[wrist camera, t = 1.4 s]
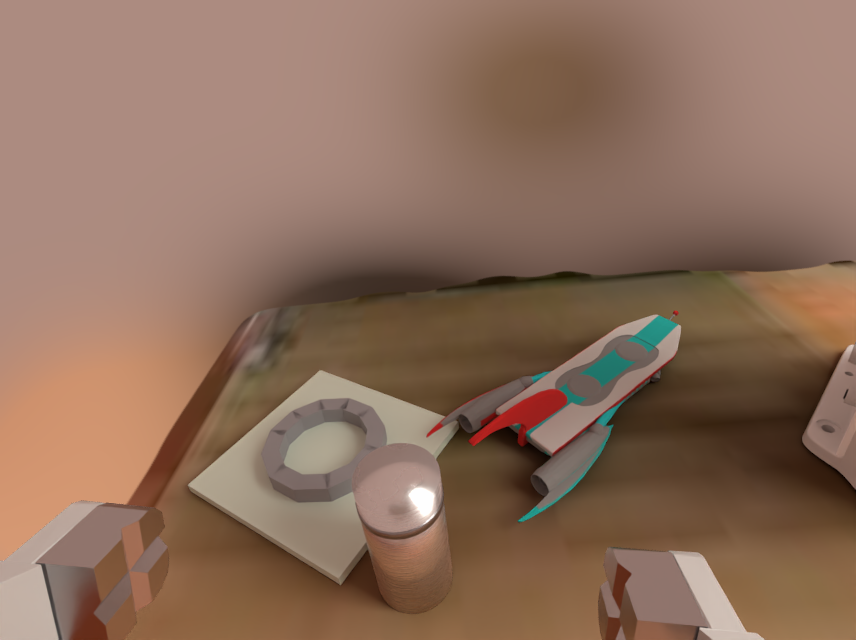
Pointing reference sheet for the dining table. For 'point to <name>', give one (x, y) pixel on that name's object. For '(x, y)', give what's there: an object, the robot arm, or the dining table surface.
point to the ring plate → (314, 468)
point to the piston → (405, 525)
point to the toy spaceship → (573, 402)
